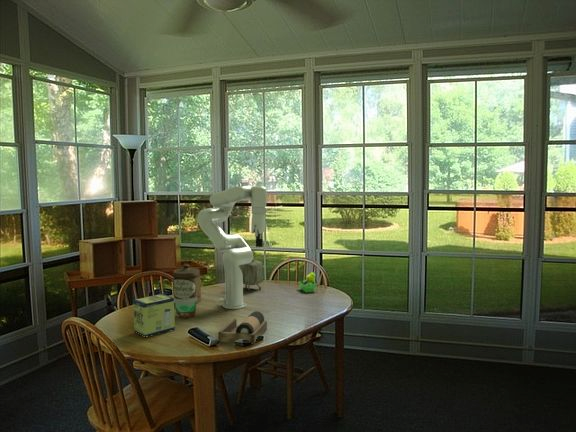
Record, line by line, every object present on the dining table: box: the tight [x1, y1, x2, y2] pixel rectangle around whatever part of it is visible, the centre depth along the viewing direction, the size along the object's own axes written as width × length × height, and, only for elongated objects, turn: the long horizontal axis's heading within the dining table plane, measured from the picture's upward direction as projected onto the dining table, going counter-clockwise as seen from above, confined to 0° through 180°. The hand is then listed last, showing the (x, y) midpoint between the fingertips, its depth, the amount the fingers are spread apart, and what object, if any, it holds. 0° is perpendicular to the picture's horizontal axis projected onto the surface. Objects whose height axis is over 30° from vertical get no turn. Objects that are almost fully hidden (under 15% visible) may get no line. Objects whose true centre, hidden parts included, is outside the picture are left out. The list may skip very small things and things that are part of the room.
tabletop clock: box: [239, 249, 265, 291], centre depth 297 cm, size 14×9×25 cm, turn 58°
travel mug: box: [236, 310, 265, 334], centre depth 214 cm, size 8×8×20 cm
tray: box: [217, 318, 268, 345], centre depth 213 cm, size 16×20×4 cm
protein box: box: [132, 293, 176, 337], centre depth 220 cm, size 10×16×16 cm
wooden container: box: [172, 263, 202, 305], centre depth 269 cm, size 15×15×22 cm
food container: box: [173, 296, 198, 320], centre depth 241 cm, size 12×6×10 cm, turn 105°
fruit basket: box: [298, 271, 317, 293], centre depth 293 cm, size 11×9×11 cm
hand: (259, 246), depth 243 cm, fingers closed
